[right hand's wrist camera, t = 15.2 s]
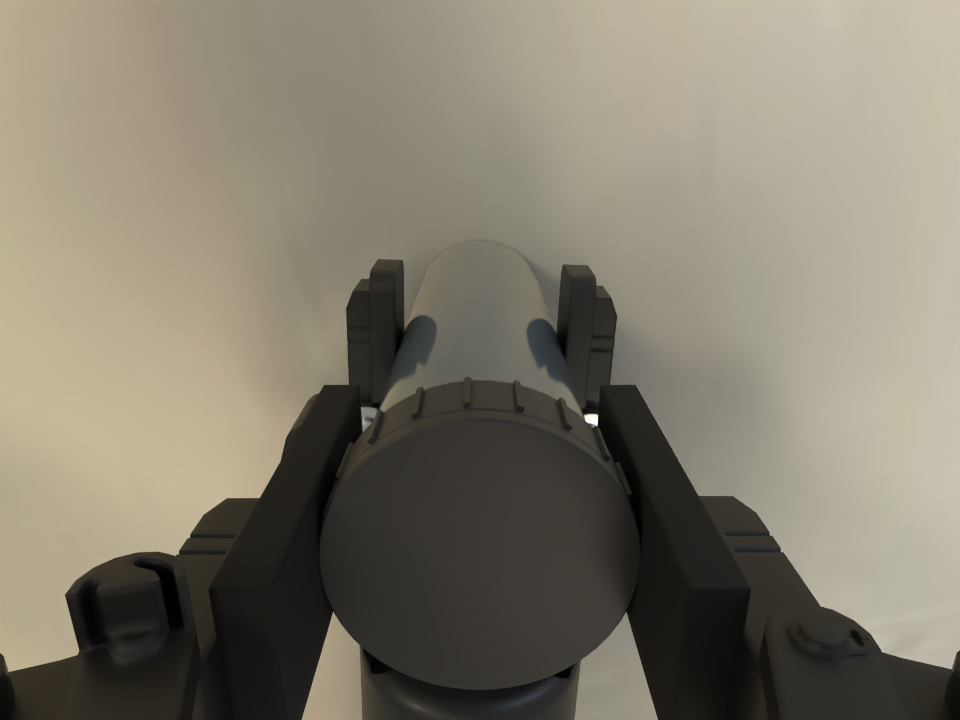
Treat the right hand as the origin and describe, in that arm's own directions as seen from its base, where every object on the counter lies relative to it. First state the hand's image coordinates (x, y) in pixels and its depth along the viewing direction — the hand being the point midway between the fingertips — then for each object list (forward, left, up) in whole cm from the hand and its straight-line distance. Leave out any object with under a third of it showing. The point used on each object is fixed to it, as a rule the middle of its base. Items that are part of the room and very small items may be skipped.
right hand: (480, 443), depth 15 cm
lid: (0, 0, +4) cm, 4 cm away
